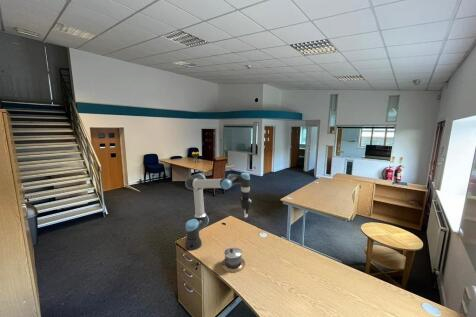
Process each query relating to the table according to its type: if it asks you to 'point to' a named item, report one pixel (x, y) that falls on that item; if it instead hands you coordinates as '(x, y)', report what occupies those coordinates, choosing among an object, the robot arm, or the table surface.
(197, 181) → the robot arm
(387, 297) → the table surface
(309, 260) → the table surface
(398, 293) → the table surface
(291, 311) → the table surface
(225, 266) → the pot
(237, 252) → the lid
